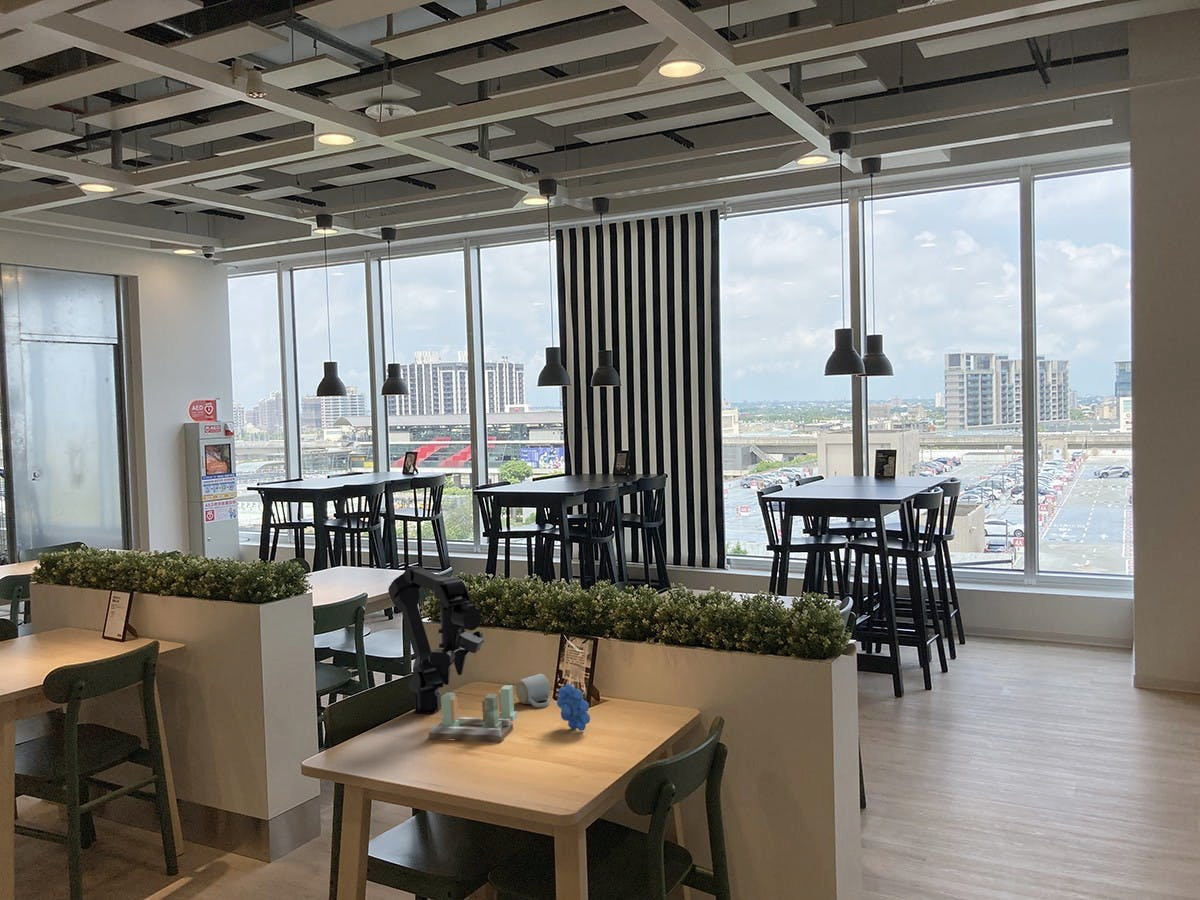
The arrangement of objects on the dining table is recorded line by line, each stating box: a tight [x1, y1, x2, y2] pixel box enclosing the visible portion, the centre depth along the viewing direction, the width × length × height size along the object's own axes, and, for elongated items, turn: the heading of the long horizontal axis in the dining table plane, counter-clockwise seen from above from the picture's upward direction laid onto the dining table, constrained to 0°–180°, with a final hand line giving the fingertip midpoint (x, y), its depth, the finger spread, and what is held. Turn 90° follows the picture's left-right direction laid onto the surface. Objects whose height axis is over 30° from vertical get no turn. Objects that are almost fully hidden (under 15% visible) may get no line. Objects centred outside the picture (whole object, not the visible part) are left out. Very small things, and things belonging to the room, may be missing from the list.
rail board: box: [428, 693, 514, 743], centre depth 257 cm, size 20×10×10 cm, turn 77°
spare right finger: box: [497, 684, 518, 722], centre depth 268 cm, size 4×4×9 cm
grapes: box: [556, 683, 591, 732], centre depth 257 cm, size 12×7×12 cm, turn 46°
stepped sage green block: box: [439, 692, 460, 727], centre depth 258 cm, size 4×4×9 cm
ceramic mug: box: [515, 673, 551, 708], centre depth 282 cm, size 11×8×8 cm
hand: (453, 679), depth 268 cm, fingers open, 9 cm apart
